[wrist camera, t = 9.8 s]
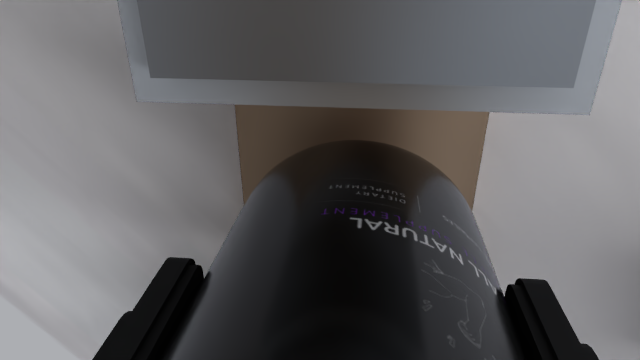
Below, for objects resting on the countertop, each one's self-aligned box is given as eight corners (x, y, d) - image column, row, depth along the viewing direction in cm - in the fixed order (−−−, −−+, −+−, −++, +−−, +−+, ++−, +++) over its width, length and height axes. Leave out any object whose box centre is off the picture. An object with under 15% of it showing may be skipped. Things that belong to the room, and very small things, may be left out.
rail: (534, -224, 11) (881, -595, 4) (431, 398, 22) (465, 643, 14) (219, -212, 12) (-51, -500, 4) (267, 384, 22) (213, 609, 15)
